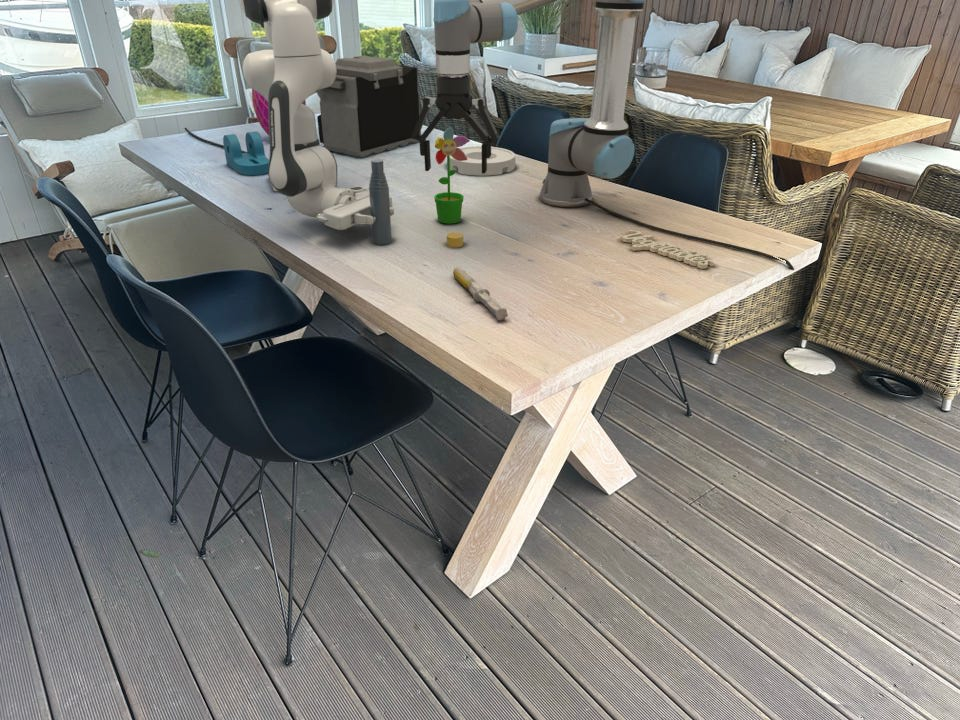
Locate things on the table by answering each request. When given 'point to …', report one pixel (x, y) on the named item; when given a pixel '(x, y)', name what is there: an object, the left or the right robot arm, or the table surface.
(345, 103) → the cooler box
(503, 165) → the ashtray
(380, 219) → the bottle
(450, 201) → the potted flower
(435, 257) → the table surface
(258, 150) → the camera mount
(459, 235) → the cap
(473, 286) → the syringe
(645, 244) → the decorative sign
